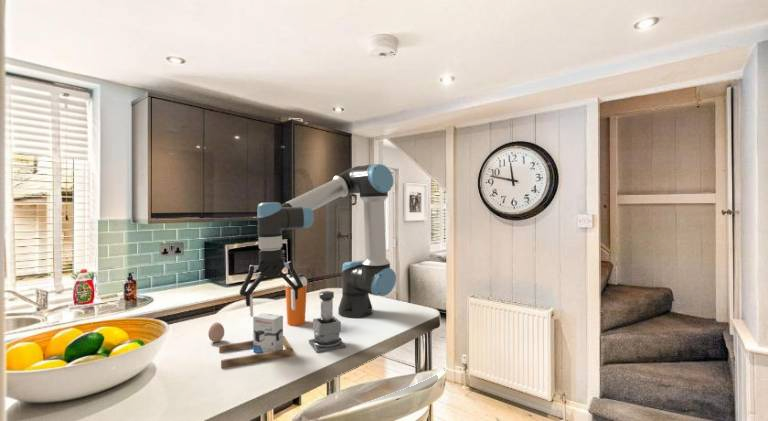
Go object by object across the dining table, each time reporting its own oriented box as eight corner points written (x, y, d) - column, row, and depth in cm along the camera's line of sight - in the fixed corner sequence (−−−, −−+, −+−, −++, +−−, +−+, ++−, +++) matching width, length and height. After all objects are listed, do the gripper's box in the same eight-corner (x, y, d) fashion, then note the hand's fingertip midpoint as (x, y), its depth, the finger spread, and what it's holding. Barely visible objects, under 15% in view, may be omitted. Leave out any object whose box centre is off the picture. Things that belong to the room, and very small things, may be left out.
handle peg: (331, 327, 133) (331, 290, 133) (335, 331, 129) (335, 293, 128) (318, 329, 131) (318, 292, 131) (321, 333, 127) (321, 295, 126)
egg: (216, 345, 130) (216, 325, 130) (205, 343, 132) (204, 323, 132) (227, 340, 135) (227, 321, 135) (216, 338, 137) (216, 319, 137)
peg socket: (336, 338, 137) (336, 314, 137) (345, 347, 128) (345, 322, 128) (308, 342, 132) (308, 318, 132) (316, 352, 123) (316, 326, 123)
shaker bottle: (302, 327, 149) (301, 276, 149) (280, 325, 151) (280, 275, 151) (310, 320, 158) (310, 272, 158) (290, 319, 160) (290, 271, 160)
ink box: (252, 352, 124) (252, 316, 124) (262, 347, 128) (262, 312, 128) (274, 356, 121) (274, 319, 121) (283, 350, 125) (283, 315, 125)
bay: (284, 341, 134) (284, 335, 134) (292, 355, 121) (292, 349, 121) (219, 351, 125) (219, 345, 125) (221, 367, 112) (221, 361, 112)
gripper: (305, 244, 135) (307, 304, 135) (229, 250, 124) (231, 315, 125) (310, 247, 128) (312, 309, 129) (231, 253, 117) (233, 321, 118)
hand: (272, 312), depth 127 cm, fingers open, 13 cm apart
